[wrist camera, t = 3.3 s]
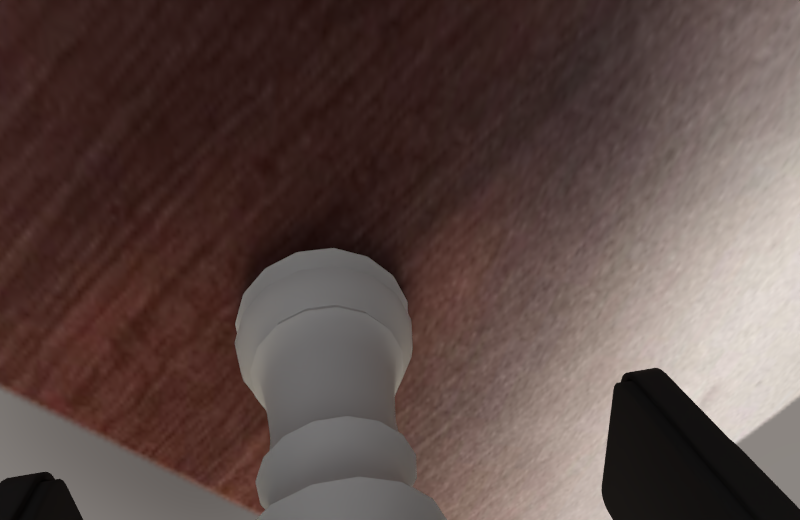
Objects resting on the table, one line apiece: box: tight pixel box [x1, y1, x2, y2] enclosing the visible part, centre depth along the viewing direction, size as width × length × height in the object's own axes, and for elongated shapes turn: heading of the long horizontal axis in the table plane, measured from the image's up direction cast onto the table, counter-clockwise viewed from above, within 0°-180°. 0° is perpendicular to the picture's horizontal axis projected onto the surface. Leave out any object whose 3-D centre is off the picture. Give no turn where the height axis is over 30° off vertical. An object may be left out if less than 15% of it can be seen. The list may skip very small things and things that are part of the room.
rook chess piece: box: [235, 248, 447, 520], centre depth 11 cm, size 4×4×8 cm
